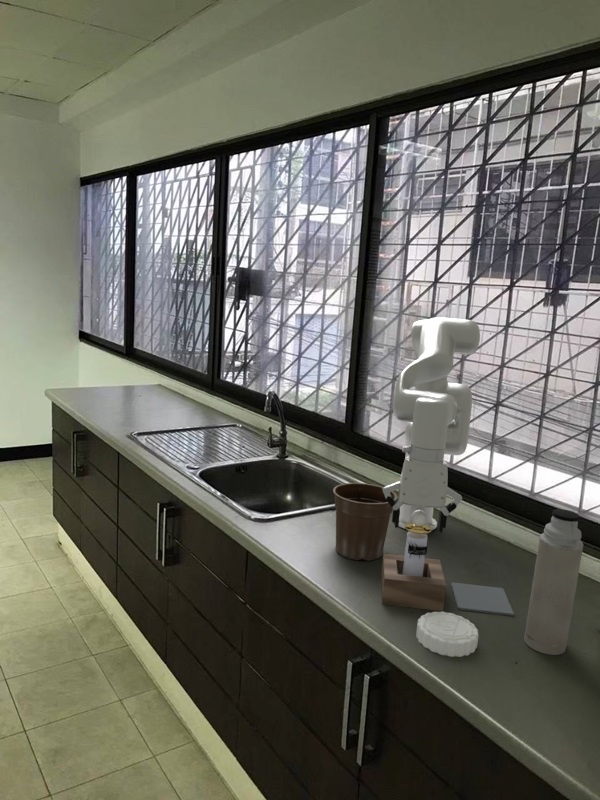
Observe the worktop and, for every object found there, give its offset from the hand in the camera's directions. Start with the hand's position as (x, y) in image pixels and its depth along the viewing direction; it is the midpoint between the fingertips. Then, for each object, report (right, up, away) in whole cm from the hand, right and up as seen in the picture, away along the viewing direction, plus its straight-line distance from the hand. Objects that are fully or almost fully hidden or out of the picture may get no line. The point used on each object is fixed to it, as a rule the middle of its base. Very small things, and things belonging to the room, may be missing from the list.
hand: (418, 528), depth 145 cm
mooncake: (+3, -20, -15) cm, 25 cm away
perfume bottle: (-1, -16, +4) cm, 16 cm away
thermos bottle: (+23, -21, -13) cm, 34 cm away
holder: (-1, -16, +3) cm, 16 cm away
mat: (+15, -17, +3) cm, 23 cm away
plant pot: (-11, -11, +24) cm, 29 cm away
